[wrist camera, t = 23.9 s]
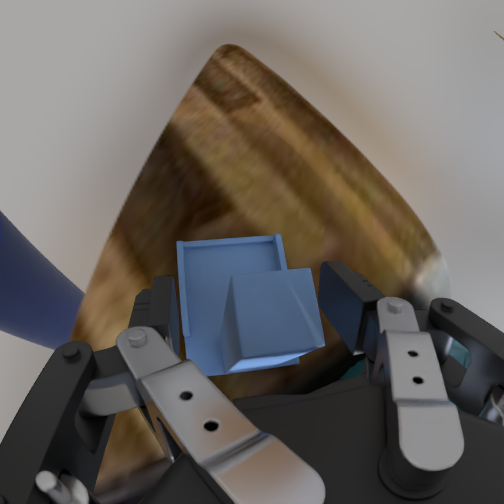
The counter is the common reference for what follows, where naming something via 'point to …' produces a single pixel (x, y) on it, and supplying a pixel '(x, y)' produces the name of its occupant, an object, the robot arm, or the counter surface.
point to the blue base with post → (245, 305)
